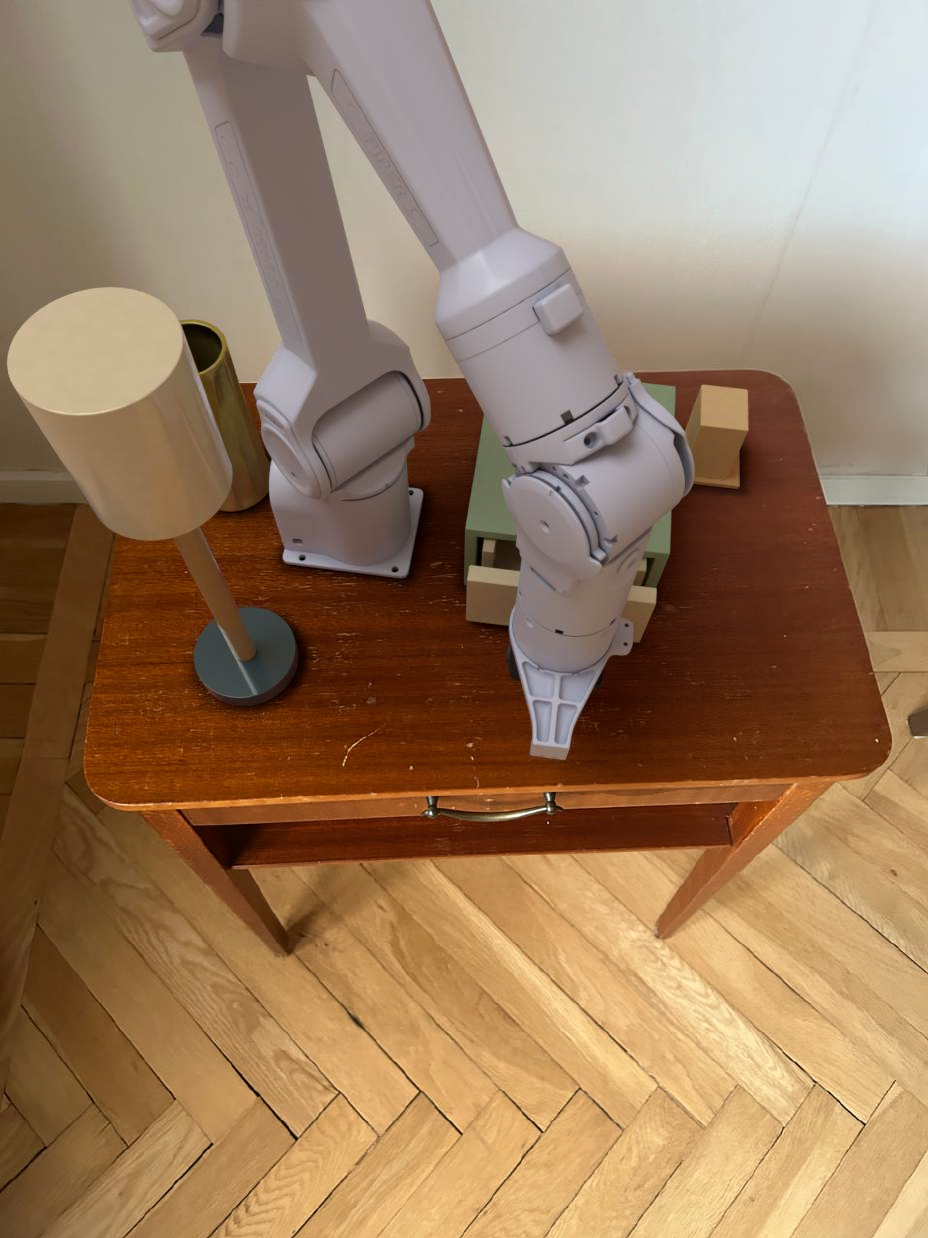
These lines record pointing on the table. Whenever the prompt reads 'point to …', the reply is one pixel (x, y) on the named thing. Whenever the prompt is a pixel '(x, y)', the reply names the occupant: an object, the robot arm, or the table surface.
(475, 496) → the cabinet
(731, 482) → the pad
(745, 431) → the tan wooden block
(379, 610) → the table surface
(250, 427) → the vase
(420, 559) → the table surface
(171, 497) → the lamp
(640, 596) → the drawer
